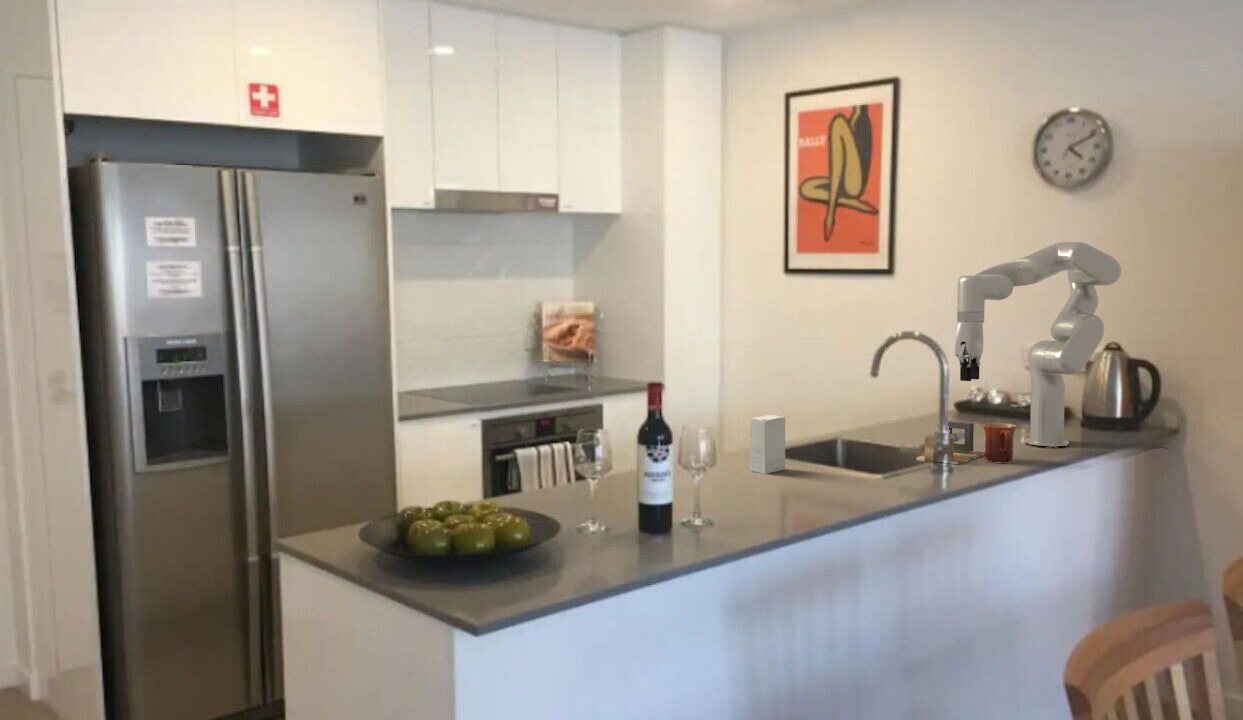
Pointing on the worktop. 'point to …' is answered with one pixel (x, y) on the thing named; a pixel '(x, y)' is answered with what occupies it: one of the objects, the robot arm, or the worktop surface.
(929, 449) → the board block
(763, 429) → the skincare box
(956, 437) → the pipe
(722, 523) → the worktop surface
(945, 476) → the worktop surface
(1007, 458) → the mug
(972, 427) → the gray square frame
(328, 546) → the worktop surface
